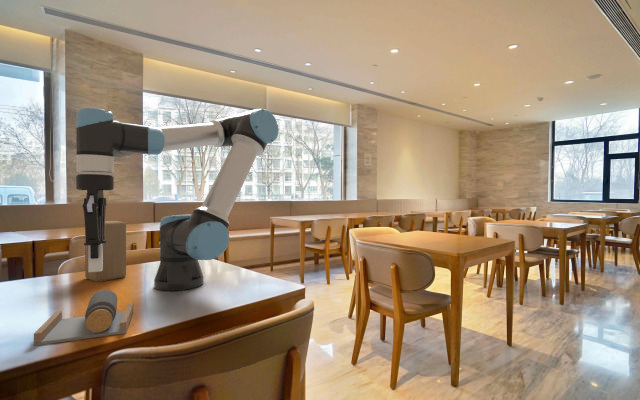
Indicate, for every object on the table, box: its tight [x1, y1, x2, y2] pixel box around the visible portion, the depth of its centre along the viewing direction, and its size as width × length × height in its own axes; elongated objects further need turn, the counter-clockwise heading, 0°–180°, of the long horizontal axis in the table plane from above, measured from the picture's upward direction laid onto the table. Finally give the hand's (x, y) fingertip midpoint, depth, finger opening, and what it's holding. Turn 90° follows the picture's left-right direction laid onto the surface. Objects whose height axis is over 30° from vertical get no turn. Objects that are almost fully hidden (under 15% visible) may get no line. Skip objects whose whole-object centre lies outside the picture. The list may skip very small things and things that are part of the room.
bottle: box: [84, 289, 118, 332], centre depth 77 cm, size 6×6×15 cm
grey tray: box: [33, 303, 134, 346], centre depth 75 cm, size 16×13×2 cm
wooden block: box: [84, 220, 127, 283], centre depth 119 cm, size 10×10×20 cm
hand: (95, 271), depth 81 cm, fingers closed
